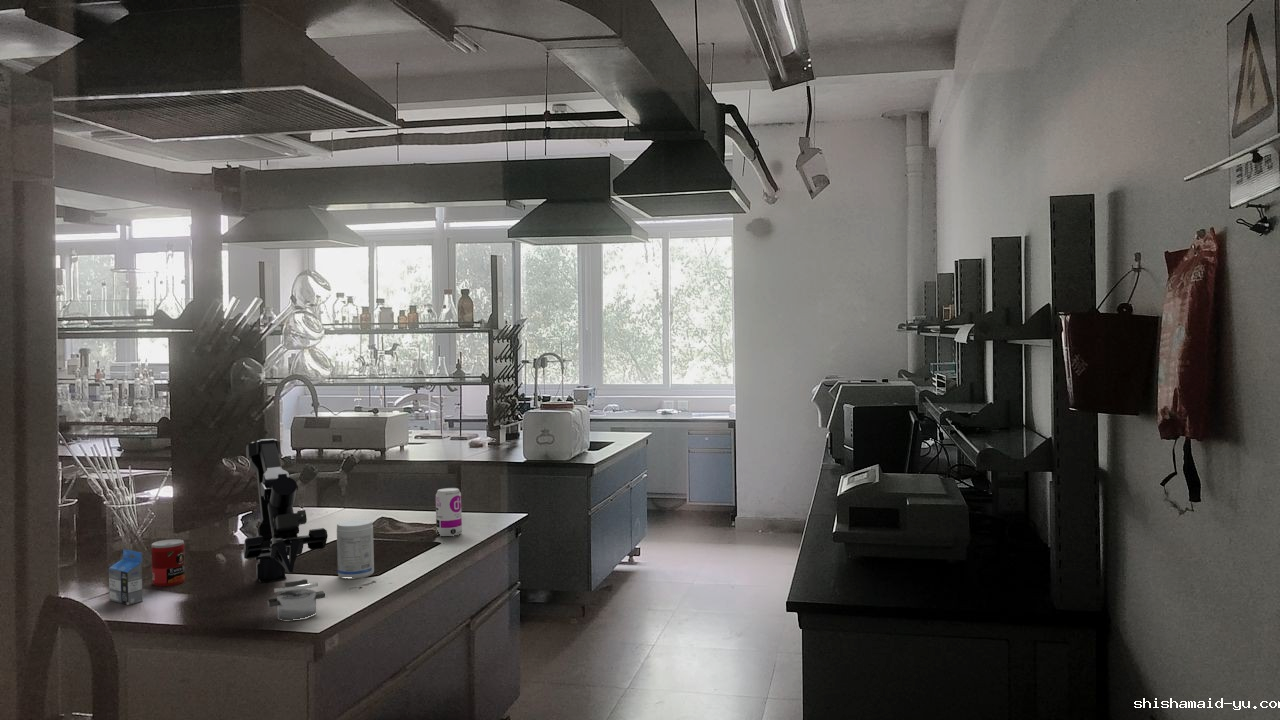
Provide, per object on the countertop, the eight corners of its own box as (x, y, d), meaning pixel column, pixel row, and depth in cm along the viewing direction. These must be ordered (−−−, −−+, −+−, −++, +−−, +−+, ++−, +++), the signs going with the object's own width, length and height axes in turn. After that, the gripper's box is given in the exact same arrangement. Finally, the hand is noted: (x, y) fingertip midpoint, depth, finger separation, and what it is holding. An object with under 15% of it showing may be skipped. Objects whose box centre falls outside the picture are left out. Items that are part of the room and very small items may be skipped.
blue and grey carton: (108, 600, 214) (107, 552, 213) (124, 596, 217) (123, 548, 217) (127, 605, 209) (126, 555, 209) (144, 601, 212) (142, 552, 212)
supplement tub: (342, 571, 237) (341, 519, 237) (377, 570, 238) (376, 517, 238) (333, 581, 227) (332, 526, 227) (370, 579, 228) (368, 524, 228)
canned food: (171, 587, 225) (169, 546, 224) (145, 586, 226) (143, 545, 226) (192, 579, 232) (190, 539, 232) (166, 578, 234) (165, 538, 234)
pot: (320, 605, 206) (319, 584, 206) (328, 615, 197) (327, 594, 197) (265, 614, 199) (264, 593, 199) (271, 625, 191) (271, 603, 191)
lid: (271, 592, 200) (271, 583, 200) (313, 585, 205) (313, 577, 205) (277, 593, 191) (277, 585, 192) (321, 586, 196) (320, 578, 197)
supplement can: (467, 533, 283) (466, 488, 283) (449, 538, 276) (448, 492, 276) (449, 531, 287) (448, 486, 287) (431, 536, 280) (430, 490, 280)
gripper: (243, 504, 203) (251, 560, 194) (325, 495, 213) (335, 548, 204) (240, 530, 210) (247, 586, 201) (319, 521, 220) (329, 573, 211)
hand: (290, 572), depth 204 cm, fingers closed
